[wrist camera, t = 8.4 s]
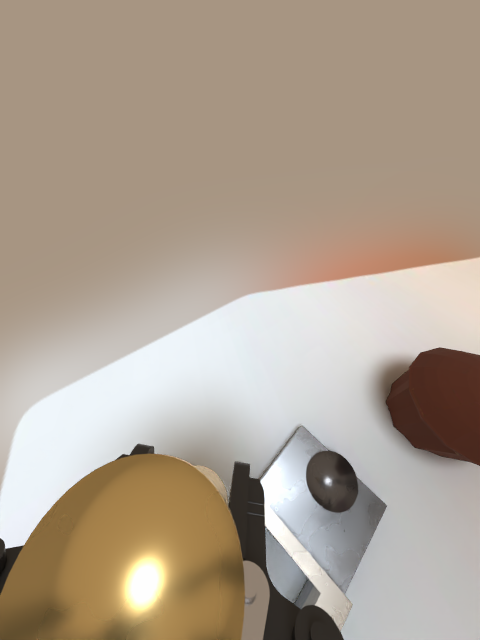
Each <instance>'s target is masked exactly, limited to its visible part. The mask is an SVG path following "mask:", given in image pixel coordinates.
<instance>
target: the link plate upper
mask: <svg viewBox="0 0 480 640" xmlns="http://www.w3.org/2000/svg"><path fill="white" fill-rule="evenodd" d="M264 507H265V526H266V527H267V528H268V529H269V531H270V532H271V533H272V534H273V536H274V537H275V538H276V539H277V540H278V542H279V543H280V544H281V545H282V547H283V548H284V549H285V550H286V551H287V553H288V554H289V555H290V556H291V557H292V559H293V560H294V561H295V562H296V564H297V565H298V566H299V567H300V568H301V570H302V571H303V572H304V573H305V574H306V576H307V577H308V578H309V579H310V581H311V582H312V583H313V584H314V587H313V589H312V591H311V592H310V594H309V596H308V598H307V600H306V602H305V604H304V606H303V607H305V606H307V605H315V606H318V607H320V608H322V609H323V610H325V611H326V612H327V613H328V614H329V615H330V616H331V617H332V619H333V620H334V621H335V623H336V625H337V626H338V628H339V630H340V631H341V629H342V627H343V625H344V623H345V620H346V618H347V616H348V614H349V612H350V610H351V607H352V605H353V604H352V603H351V602H350V601H349V599H348V598H347V597H346V596H345V595H344V593H343V592H342V591H341V590H340V589H339V588H338V586H337V585H336V584H335V583H334V582H333V581H332V579H331V578H330V577H329V576H328V575H327V574H326V572H325V571H324V570H323V569H322V568H321V567H320V565H319V564H318V563H317V562H316V561H315V560H314V558H313V557H312V556H311V555H310V554H309V553H308V551H307V550H306V549H305V548H304V547H303V546H302V544H301V543H300V542H299V541H298V540H297V539H296V537H295V536H294V535H293V534H292V533H291V531H290V530H289V529H288V528H287V527H286V526H285V524H284V523H283V522H282V521H281V520H280V519H279V517H278V516H277V515H276V514H275V513H274V512H273V510H272V509H271V508H270V507H269V506H268V505H267V503H266V502H265V506H264ZM303 607H302V608H303Z"/></svg>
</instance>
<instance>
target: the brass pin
mask: <svg viewBox="0 0 480 640" xmlns="http://www.w3.org/2000/svg"><path fill="white" fill-rule="evenodd" d="M244 606H245V582H244V567H243V558H242V552H241V545H240V540H239V536H238V532H237V528H236V524H235V522H234V519H233V516H232V514H231V511H230V509H229V507H228V499H227V493H226V489H225V487H224V484H223V482H222V480H221V479H220V477H219V476H218V475H217V474H216V473H215V472H214V471H213V470H211V469H209V468H207V467H204V466H197V465H196V466H194V465H192V464H191V463H189V462H187V461H185V460H182V459H180V458H177V457H173V456H169V455H162V454H139V455H132V456H128V457H124V458H120V459H118V460H115V461H112V462H110V463H108V464H106V465H104V466H102V467H100V468H98V469H96V470H94V471H93V472H91V473H90V474H88V475H87V476H85V477H84V478H82V479H81V480H80V481H79V482H77V483H76V484H75V485H74V486H72V487H71V488H70V489H69V490H68V491H67V492H66V493H65V494H64V495H63V496H62V497H61V498H60V499H59V500H58V501H57V502H56V503H55V504H54V505H53V506H52V507H51V509H50V510H49V511H48V512H47V513H46V514H45V516H44V517H43V518H42V520H41V521H40V522H39V524H38V525H37V526H36V528H35V529H34V531H33V532H32V533H31V535H30V537H29V538H28V540H27V542H26V543H25V545H24V546H23V548H22V550H21V551H20V553H19V555H18V557H17V559H16V561H15V563H14V565H13V567H12V569H11V571H10V573H9V575H8V578H7V580H6V582H5V585H4V587H3V590H2V592H1V595H0V640H241V637H242V629H243V620H244Z"/></svg>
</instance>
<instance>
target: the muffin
mask: <svg viewBox="0 0 480 640" xmlns="http://www.w3.org/2000/svg"><path fill="white" fill-rule="evenodd" d="M386 404H387V406H388V409H389V411H390V413H391V417H392V421H393V425H394V427H395V428H396V429H397V430H399V431H400V432H401V433H402V434H403V435H404V436H405V437H406V438H407V439H408V440H409V442H410V443H411V444H412V445H413V446H414V447H415V448H418V449H423V450H427V451H430V452H432V453H434V454H437V455H439V456H442V457H447V458H452V459H457V460H463V461H468V462H472V463H474V464H477V465H479V466H480V355H476V354H472V353H466V352H462V351H457V350H451V349H446V348H436V349H432V350H429V351H425V352H421V353H420V354H419V355H418V356H417V358H416V359H415V360H414V362H413V363H412V364H411V365H410V367H409V370H408V371H406V372H405V373H404V374H403V375H402V376H401V377H400V378H398V379H397V380H396V381H395V382H394V383H393V384H392V387H391V391H390V394H389V396H388V398H387V400H386Z"/></svg>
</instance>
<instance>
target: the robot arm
mask: <svg viewBox="0 0 480 640" xmlns="http://www.w3.org/2000/svg"><path fill="white" fill-rule="evenodd" d="M139 454H154V447H153V446H148V445H142V444H137V445H136V446H135V448H134V449H133V451H132V452H131V454H130V455H125V454H123V455H121V456H120V457H119V458H117V459H116V460H118V459H120V458H124V457H128V456H132V455H139ZM249 472H250V464H247V463H241V462H235V464H234V470H233V477H232V483H231V490H230V497H229V505H228V507H229V509H230V511H231V514H232V516H233V519H234V522H235V524H236V528H237V532H238V536H239V540H240V545H241V552H242V558H243V567H244V582H245V606H244V620H243V629H242V637H241V640H344V639H343V637H342V635H341V632H340V630H339V628H338V626H337V625H336V623H335V621H334V620H333V619H332V617H331V616H330V615H329V614H328V613H327V612H326V611H325V610H323V609H322V608H320V607H318V606H315V605H307V606H305V607H303V608H302V609H300V608H299V607H297V606H296V605H294V604H293V603H292V602H290V601H289V600H287V599H286V598H284V597H283V596H282V595H281V594H280V593H279V592H278V591H277V590H276V588H275V587H274V586H273V584H272V582H271V580H270V578H269V575H268V572H267V567H266V545H265V507H264V506H265V496H264V489H263V486H262V484H261V482H260V479H255V478H249ZM22 548H23V546H19V547H13V548H8V549H5V544H4V541H3V540H2V539H1V538H0V595H1V592H2V590H3V587H4V585H5V582H6V580H7V578H8V575H9V573H10V571H11V569H12V567H13V565H14V563H15V561H16V559H17V557H18V555H19V553H20V551H21V550H22Z"/></svg>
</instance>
